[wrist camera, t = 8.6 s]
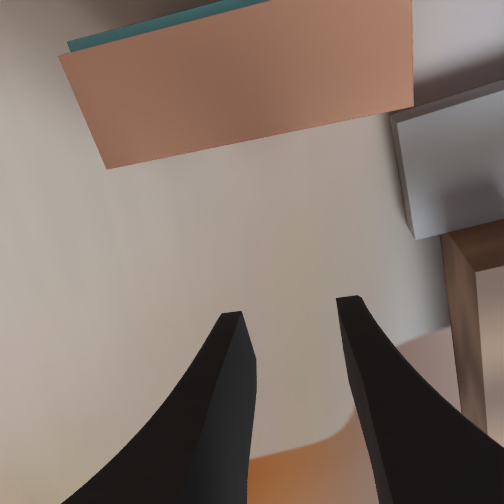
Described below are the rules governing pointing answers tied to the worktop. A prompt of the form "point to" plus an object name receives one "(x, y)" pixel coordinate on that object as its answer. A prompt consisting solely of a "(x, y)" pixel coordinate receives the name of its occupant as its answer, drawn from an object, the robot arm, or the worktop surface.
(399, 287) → the worktop surface
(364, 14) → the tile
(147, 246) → the worktop surface
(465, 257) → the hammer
